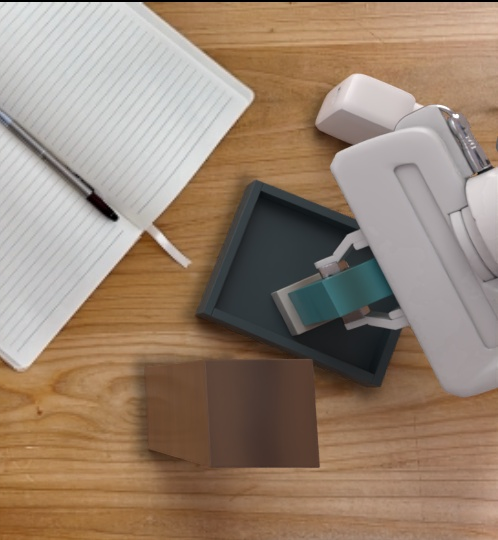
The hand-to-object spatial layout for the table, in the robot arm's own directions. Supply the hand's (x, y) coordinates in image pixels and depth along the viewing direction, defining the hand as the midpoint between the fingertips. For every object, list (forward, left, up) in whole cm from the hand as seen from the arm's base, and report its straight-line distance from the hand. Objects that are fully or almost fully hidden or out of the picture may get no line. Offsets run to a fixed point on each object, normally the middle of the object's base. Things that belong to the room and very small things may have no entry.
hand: (332, 295), depth 69 cm
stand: (+6, +12, -6) cm, 15 cm away
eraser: (-1, 0, -5) cm, 5 cm away
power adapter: (-1, -17, -6) cm, 18 cm away
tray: (0, -2, -6) cm, 6 cm away
